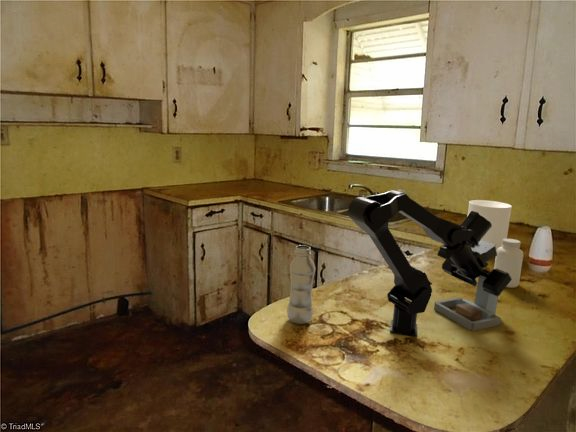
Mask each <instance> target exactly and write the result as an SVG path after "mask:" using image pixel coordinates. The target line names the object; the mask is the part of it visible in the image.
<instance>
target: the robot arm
mask: <svg viewBox="0 0 576 432" xmlns="http://www.w3.org/2000/svg"><path fill="white" fill-rule="evenodd" d="M397 213H400V214H401V215H403V216H405V218H408V219H409V220H410V221H412V222H414V223H415V224H416V225H418V226H420V227H421V228H422V229H423V232H424V234H425V235H427V236H428V238H430V239H431V241H432V240H433V241H434V242H437V243H441V244H442V246H440V247H439V250H438V252H437V257H440V258H442V259H444V261H443V262H442V264H441V269H442V270H443V272H444V273H446V274H448V275H450V276H452V277H454V278H456V279H458V280H460V281H462V282H464V283H466V284H470V285H471V286H473V287H477V284H478V281H477V278H479V277H480V278H483V279H485V280H484V281H483V286H482V287H483V288H484V289H483V290H484V291H486V292H488V293H490V294H492V295H495V296H497V297H498V298H499V296H500V295H501V293H503V292H504V290H505V288H507V287H506V286H507V285H508V284H509V282H510V281H511V280H512V279H511V276H510V275H509V273H507V272H504V271H502V270H499V269H494V268H492V270H491V271H490V270H487V269H486V268H487V267H488V266H489V263H488V262H489V261H491V260H492V259H493V258H495V257H496V256H497V252H496V247H495V244H493V243H490V242H487V241H481V239H482V238H483V236H484V235H485V234H486V233H487V232H488V230H489V229H490V228H491V227H492V224H491V223H490V221H488V220H487V219H485V218H484V217H483V216H481V215H479V213H478V212H475V211H471V212H470V213H469V215H468V214H467V215H468V217H467V216H466V218H465V219H464V220H462V222H461V224H460V225H459V224H458V223H455V222H452V221H450V220H447V219H445V218H441V217H439V216H437V215H435V213H433V212H431V211H430V210H428V209H427V208H425V207H424V206H422V205H421V204H419V203H418V202H416V201H415V200H413V199H412V198H411V197H409V196H408V195H407V193H406V192H405V193H404V192H402V191H399V190H398V191H397V190H394V189H393V190H389V191H386V192H384V193H378V194H372V195H368V196H364V197H362V196H358V197H355V198H354V199H352V201H351V202H350V204H349V205H348V210H347V215H348V217H349V219H351V220H352V222H354V224H355V225H357V227H359V228H360V229H361V230H362V231H364V233H366V234H367V235H368V236H369V237H370V239H371V241H372V243H373V244H374V245H375V248H376V249H377V250H378V251H379V253H380V255H381V256H382V258H383V259H384V261H385V262H386V265H387V266H388V267H389V269H390V271H391V272H392V274H393V275H394V279H393V283H394V286H393V287H392V288H391V289H390V290H389V292H388V293H387V294H386V298H387V300H388V302H390V303H392V304H393V313H392V319H390V325H389V326H390V328H389V332H390V333H392V334H398V335H404V336H411V337H417V336H418V323H417V320H418V319H417V318H418V314H421V313H425V312H426V310H427V307H428V305H429V302H430V299H431V297H432V293H433V288H432V286H431V285H433V283H432V282H431V281H430V279H429V278H428V275H427V274H426V272H424V271H423V270H421V269H418V267H417V268H416V267H414V266H413V265H411V264H410V262H409V260H408V259H407V257H406V255H405V254H404V252H403V251H402V248H401V247H400V245H399V244H398V242H397V241H396V239H395V237H394V236H393V234H392V232H391V231H390V229H389V222H390V221H389V220H390V219H393V218H394V217H395V216H396V215H397Z"/></svg>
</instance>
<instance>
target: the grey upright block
mask: <svg viewBox="0 0 576 432" xmlns="http://www.w3.org/2000/svg"><path fill="white" fill-rule="evenodd" d="M477 278H478V280H477V285H476V292H475V298H474V302H472V301H470V300H469V299H466V298H465V299H463V300H462V302H461V304H464V303H468V304H470V305H472V306H474V307H476V308H478V309H480V310H482V312H481V318H480V320H483V319H488V318H492V316H496V313H497V309H498V308H497V307H498V301H499V296H498V297H497V296H495V295H492V294H490V293H488V292H486V291H484V290H483V289H484V288H483V287H482V286H483V281H484V280H485V279H483V278H480V277H477Z"/></svg>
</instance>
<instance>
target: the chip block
mask: <svg viewBox="0 0 576 432" xmlns="http://www.w3.org/2000/svg"><path fill="white" fill-rule="evenodd" d="M454 312H456V313H458V314H460V315H461V316H463V317H465V318H467V319H469V320H470V321H472V322H474V321H479V320H481V319H480V318H481V312H482V310H480V309H478V308H476V307H474V306H472V305H470V304H468V303H464V304H459V305H456V306H455V311H454Z"/></svg>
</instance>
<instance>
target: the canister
mask: <svg viewBox="0 0 576 432" xmlns="http://www.w3.org/2000/svg"><path fill="white" fill-rule="evenodd" d="M512 208H513V206H512V205H511V204H509V203H506V202H501V201H495V200H487V199H486V200H484V199H475V200H474V199H473V200H469V201H468V210H467V215H466V218H467V217H468V215H469V213H470V212H471V211H475V212H478V213H479V215H481V216H483V217H484V218H485V219H487V220H488V221H490V223H491V224H492V227H491V228H490V229H489V230H488V232H487V233H486V234H485V235H484V236H483V238H482V239H481V241H487V242H490V243H493V244H495V247H496V251H497V249H498V248H499V247H501V246H502V240H503V239H508V232H509V226H510V220H511V219H510V218H511V214H512V210H513V209H512Z"/></svg>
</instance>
